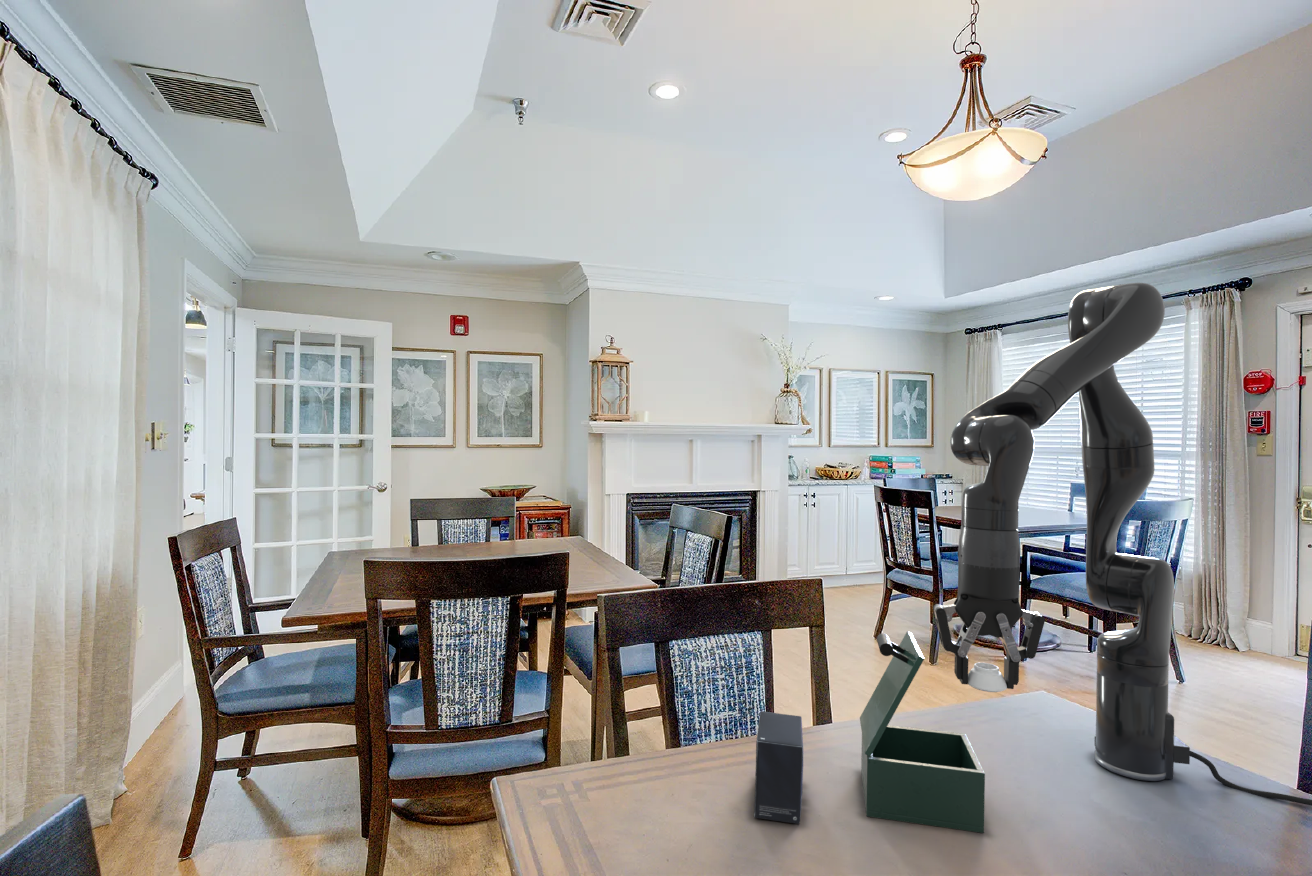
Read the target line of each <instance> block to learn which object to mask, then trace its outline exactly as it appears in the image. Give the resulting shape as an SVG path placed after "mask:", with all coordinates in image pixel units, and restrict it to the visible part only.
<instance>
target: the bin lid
mask: <svg viewBox="0 0 1312 876" xmlns="http://www.w3.org/2000/svg"><path fill="white" fill-rule="evenodd" d="M876 642H877V646H878V649H879V653H880V654H881V655H882V656H884V657H891V656H892V658H891V660H890V661H889V663H888V665H887V667H886V669H885V671H884V673H883V674H882V676H881V678H880V680H879V682H878V683H877V685H876V687H875V689H874V691H873V693H872V694H871V696H870V698H869V700H868V701H867V703H866V705H865V707H864V709H863V711H862V713H861V715H860V716H859V722H860V729H861V739H862V738H863V745H864V752H865V754H866V755H868V756H869V757H870V756H871V754H872V753H873V751H874V749H875V747H876V745H877V744H878V742H879V740H880V738H881V736H882V735H883V733H884V731H885V729H886V727H887V726H888V725H890V722H891V720H892V718H893V717H894V715H895V713H896V711H897V710H898V708H899V705H900V704H901V702H902V700H903V699H904V696H905V695H906V693H907V691H908V690H909V688H910V686H911V684H912V683H913V681H914V679H915V677H916V676H917V673H918V672H919V670H920V668H921V666H922V664H923V662H924V661H925V657H924V655H923V653H922V651H921V649H920V647H919V645H918V643H917V641H916V639H915V636H914V634H913V632H911V631H908V630H907V631H906V632H905V634H904V636H903V638H902V640H901V642H900V644H899V645H898V644H897V643H895V642H893V641H891V639H890V636H889V635H888V634H886V633H883V632H882V633H879V634H878V635H877V636H876Z"/></svg>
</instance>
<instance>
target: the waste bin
mask: <svg viewBox="0 0 1312 876" xmlns="http://www.w3.org/2000/svg"><path fill="white" fill-rule="evenodd" d="M860 756H861V757H860V758H861V761H860V763H861V766H860V774H861V782H862V783H861V784H862V791H863V798H864V809H865V815H866V817H868V818H876V819H884V820H890V821H898V822H904V823H909V824H910V823H911V824H918V825H923V826H925V825H926V826H930V827H938V828H946V829H952V830H961V831H966V832H974V833H980V834H985V794H986V793H985V792H986V791H985V790H986V789H985V787H986V773H985V771H984V769H983V767H982V765H981V763H980V761H979V759H978V757H977V755H976V752H975V751H974V748H973V747H972V744H971V742H970V741H969V739H968V735H967V734H966V733H962V732H955V731H953V732H952V731H944V730H934V729H926V728H917V727H909V726H900V725H890V724H888V726H887V727H886V729H885V731H884V733H883V735H882V736H881V738H880V740H879V742H878V744H877V745H876V747H875V749H874V751H873V753H872V754H871V756H870V757H869V756H868V755H866V754H865V752H864V745H863V738H862V737H861V755H860Z"/></svg>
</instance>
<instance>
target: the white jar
mask: <svg viewBox="0 0 1312 876" xmlns="http://www.w3.org/2000/svg"><path fill="white" fill-rule="evenodd" d="M967 685H968V686H970V687H971V688H973V689H976V690H978V691H982V692H986V693H1001V692H1004V691H1006V690H1007V684H1006V682H1005V680H1004V674H1003V673H1002V672H1001V671H1000V667H999V666H998V665H995V664H994V663H989V662H978V661H977V662H975V663H974V664H973V667H971V669H970V670H969V671H968V684H967Z"/></svg>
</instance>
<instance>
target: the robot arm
mask: <svg viewBox="0 0 1312 876" xmlns="http://www.w3.org/2000/svg"><path fill="white" fill-rule="evenodd" d="M1165 309H1166V308H1165V302H1164V299H1163V296H1162V294H1161V292H1160V291H1159V290H1158V288H1156V286H1154V285H1152V284H1150V283H1146V282H1127V283H1121V284H1115V285H1108V286H1103V287H1096V288H1091V289H1086V290H1082V291H1080V292H1078V293H1077V294H1076V295H1075V296H1074V297H1073V298H1072V300H1071V301H1070V303H1069V307H1068V314H1067V331H1068V339H1069V343H1068V344H1067V345H1065V346H1063V347H1061V348H1059V349H1057V350H1055V351H1053V352H1052V353H1049V354H1047V355H1046V356H1044V357H1041V358H1040V359H1039V360H1037V361H1036V362H1034V363H1033V364H1031V365H1030V366H1028V367H1027V369H1025V370H1024V371H1023V372H1022V373H1021V374H1020V375H1019V376H1018V377H1016V379H1014V381H1012V382H1011V384H1009V385H1008V387H1007V388H1005V390H1003V391H1002V392H1000V393H999V394H997V395H994V396H992V397H991V398H989V399H987V400H986V401H984V402H982V403H981V404H979V405H978V406H976V407H974V408H973V409H972V410H970V411H968V412H967V413H966V414H964V415H963V416H962V417H961V418H960V419H959V420H958V421H957V422H956V424H955V425H954V427H953V429H952V431H951V433H950V439H949V446H950V450H951V452H952V454H953V455H954V457H955V458H956V459H957V460H958V461H960V462H961V463H963V464H966V465H970V466H977V467H978V466H982V467H987V470H986V473H985V476H984V478H983V479H982V481H981V482H975V483H972V484H969V485H967V486H965V487H964V488H963V491H962V494H961V515H960V516H961V519H960V524H961V526H960V533H959V538H958V550H957V558H958V562H957V565H958V566H957V595H956V599H955V600H954V601H953V603H951V604H945V605H941V604H939V603H936V604H933V607H932V610H933V615H934V619H935V624H936V628H937V632H938V637H939V641H940V644H941V646H942V647H943V649H944V651H946V652H950V653H953V654H954V665H953V666H954V669H953V671H954V675H955V677H956V679H957V680H959V682H960V684H961V685H968V674H969V657H968V654H969V651H970V649H971V647H972V645H973V644H974V643H975V642H976V639H977V636H978V637H985V636H991V637H994V638H999V640H1000V641H1001V644H1002V647H1003V649H1004V651H1005V654H1006V656H1003V677H1004V680H1005V682H1006V684H1007V689H1008V690H1014V689H1015V686H1018V684H1019V681H1020V662H1021V661H1022V660H1026V659H1029V660H1030V659H1034V658H1035V657H1036V655H1037V652H1038V648H1039V644H1040V640H1041V636H1042V634H1043V631H1044V630H1043V629H1044V627H1045V623H1046V619H1045V617H1044V616H1043V615H1042V614H1041V613H1040V612H1038V611H1036V610H1033V611H1029V610H1025V609H1023V608H1022V605H1021V604H1020V567H1021V545H1020V543H1021V542H1020V537H1019V513H1020V512H1019V511H1020V510H1019V509H1020V508H1019V507H1020V506H1019V501H1020V498H1021V494H1022V491H1023V488H1024V485H1025V481H1026V478H1027V475H1028V472H1029V470H1030V467H1031V463H1032V460H1033V456H1034V453H1035V452H1034V451H1035V437H1034V433H1033V430H1037V429H1040V428H1042V427H1043V426H1045V425H1046V424H1047V423H1049V421H1050V420H1052V418H1053V417H1054V416H1055V415H1056V414H1058V412H1060V410H1062V409H1063V407H1065V405H1066V404H1067V403H1068V402H1069V401H1070V400H1071V399H1072V398H1073V397H1074V396H1075V395H1076V394H1078V395H1077V396H1078V404H1079V405H1078V406H1079V407H1078V408H1079V419H1080V445H1081V460H1082V464H1081V465H1082V473H1083V484H1084V492H1085V504H1086V505H1085V507H1086V509H1085V511H1086V538H1085V539H1086V541H1085V542H1086V543H1085V586H1086V592H1087V596H1088V598H1089V602H1090V603H1091V604H1092V605H1093V606H1094V607H1096V608H1099V609H1102V610H1107V611H1111V612H1116V613H1122V614H1126V615H1132V616H1137V617H1139V618H1138V623H1137V626H1135V627H1133V628H1129V629H1123V630H1122V629H1121V630H1111V631H1105V632H1102V633H1100V634H1099V635H1098V637H1097V639H1096V682H1095V683H1096V688H1095V689H1096V690H1095V691H1096V694H1095V696H1096V697H1095V736H1094V749H1095V750H1094V760H1095V762H1096V763H1097V764H1098V765H1100V766H1101V767H1102V768H1104V769H1106V770H1108V771H1110V772H1112V773H1114V774H1117V775H1121V776H1123V777H1126V778H1129V779H1133V780H1134V779H1135V780H1140V781H1147V782H1157V781H1159V782H1160V781H1163V780H1174V776H1175V775H1174V773H1175V771H1174V768H1175V767H1174V766H1175V765H1174V764H1183V765H1190V762H1191V761H1190V760H1191V759H1190V758H1193V759H1195V760H1198V761H1200V762H1201V763H1202V764H1204V765H1205V766H1206V767H1208V768H1209V770H1210V773H1211V775H1212V776H1213V778H1214V779H1215V780H1216V781H1217V782H1218V783H1220V784H1222V785H1224V786H1226V787H1228V788H1231V789H1235V790H1238V791H1242V792H1245V793H1247V794H1248V793H1249V794H1252V795H1255V796H1258V797H1263V798H1267V799H1268V798H1269V799H1274V800H1281V801H1287V802H1292V803H1297V804H1301V805H1307V806H1310V807H1312V799H1310V798H1305V797H1301V796H1296V795H1290V794H1285V793H1279V792H1272V791H1265V790H1257V789H1252V788H1247V787H1244V786H1240V785H1237V784H1235V783H1234V782H1231V781H1230V780H1227V779H1226V778H1224V777H1222V776H1221V775H1220V774H1219V772H1218V770H1217V768H1216V766H1215V765H1214V764H1213V763H1212V761H1210V760H1209V759H1207V758H1206V757H1204V756H1203V755H1201V754H1199V753H1197V752H1194V751H1192V750H1191V748H1190V746H1189V745H1187V744H1186V743H1185V742H1184V741H1183V740H1181V739H1180V738H1179V737H1178V736H1177V735H1175V717H1174V715H1172V714H1171V713H1170V712H1169V670H1170V669H1169V668H1170V667H1169V664H1170V649H1171V641H1172V640H1171V638H1172V634H1171V633H1172V617H1173V607H1174V606H1173V605H1174V597H1175V596H1174V595H1175V578H1174V572H1173V570H1172V567H1171V566H1170V564H1169V563H1168V562H1167V561H1166V560H1164V559H1161V558H1155V557H1149V556H1141V555H1134V554H1127V553H1119V552H1118V551H1117V539H1118V534H1119V530H1120V527H1121V525H1122V524H1123V522H1124V519H1125V518H1126V516H1127V515H1128V513H1130V511H1131V509H1132V508H1133V507H1134V505H1135V504H1136V503H1137V502H1138V500H1139V499H1140V498H1141V497H1142V496H1143V494H1144V492H1145V491H1146V490H1147V488H1148V487H1149V486H1150V484H1151V482H1152V480H1153V478H1154V475H1155V451H1154V435H1153V431H1152V428H1151V425H1150V423H1149V422H1148V420H1147V419H1146V417H1145V415H1144V414H1143V413H1142V411H1141V410H1140V409H1139V408H1138V406H1137V404H1136V403H1135V402H1134V401H1133V400H1132V398H1131V397H1130V396H1129V394H1128V393H1127V391H1125V389H1124V388H1123V386H1122V384H1121V383H1120V381H1119V379H1118V377H1117V373H1116V371H1115V366H1114V365H1116V364H1117V363H1119V362H1120V361H1121V360H1123V359H1124V358H1125V357H1128V355H1130V354H1132V353H1133V352H1134V351H1136V350H1137V349H1139V348H1141V347H1143V346H1144V345H1145V344H1146V343H1148V342H1149V341H1150V340H1152V339H1153V338H1154V337H1155V336H1156V334H1158V332H1159V331H1160V329H1161V328H1162V325H1163V323H1164V320H1165V315H1166V314H1165V312H1166V311H1165ZM954 614H957V616H958V617H959V618H960V620H961V621H962V625H961V628H960V630H959V633H958V637H957V639H956V641H954V640H952V633H951V630H950V625H949V622H951V621H953V615H954ZM1021 618H1022V624H1023V625H1024V626H1025V629H1024V633H1023V636H1022V640H1021V643H1020V646H1017V642H1016V639H1015V637H1014V634H1013V631H1012V629H1013V628H1014V626H1015V625H1016V624H1017V623H1018V622H1019V620H1020V619H1021ZM1007 689H1006V690H1007Z"/></svg>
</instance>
